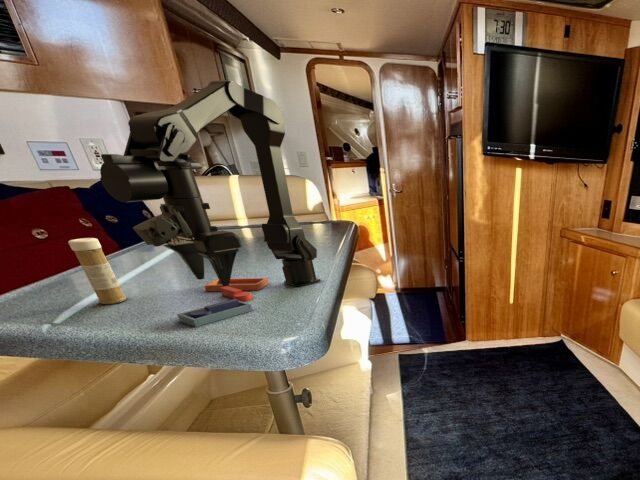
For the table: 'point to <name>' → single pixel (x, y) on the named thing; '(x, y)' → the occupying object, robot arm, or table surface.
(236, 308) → the grey tray
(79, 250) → the sprinkles bottle
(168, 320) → the table surface
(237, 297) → the brick-red spoon
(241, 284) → the terracotta tray
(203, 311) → the navy spoon
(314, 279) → the robot arm
